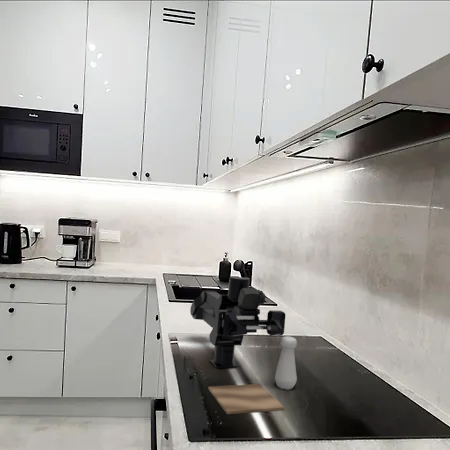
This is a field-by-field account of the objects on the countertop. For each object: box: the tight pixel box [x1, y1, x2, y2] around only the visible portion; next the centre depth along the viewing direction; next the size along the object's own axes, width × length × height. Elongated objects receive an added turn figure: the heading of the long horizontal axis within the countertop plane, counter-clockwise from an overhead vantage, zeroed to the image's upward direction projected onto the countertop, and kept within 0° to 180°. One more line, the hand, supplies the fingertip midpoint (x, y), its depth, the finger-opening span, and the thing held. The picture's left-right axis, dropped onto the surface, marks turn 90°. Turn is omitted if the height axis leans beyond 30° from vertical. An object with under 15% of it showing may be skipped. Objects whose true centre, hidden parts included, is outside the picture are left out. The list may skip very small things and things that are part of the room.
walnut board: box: [207, 383, 285, 415], centre depth 100 cm, size 14×14×1 cm
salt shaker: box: [274, 335, 298, 391], centre depth 111 cm, size 6×6×13 cm
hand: (264, 331), depth 100 cm, fingers open, 9 cm apart
